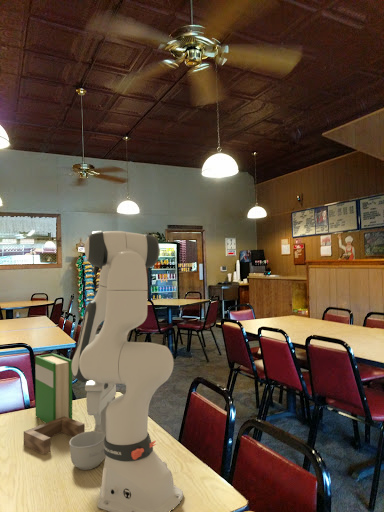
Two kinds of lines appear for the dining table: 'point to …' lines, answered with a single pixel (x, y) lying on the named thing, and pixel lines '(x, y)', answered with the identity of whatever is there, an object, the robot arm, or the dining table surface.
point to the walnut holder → (51, 433)
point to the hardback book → (53, 387)
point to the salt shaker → (103, 423)
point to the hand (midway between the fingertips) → (103, 418)
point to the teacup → (87, 449)
